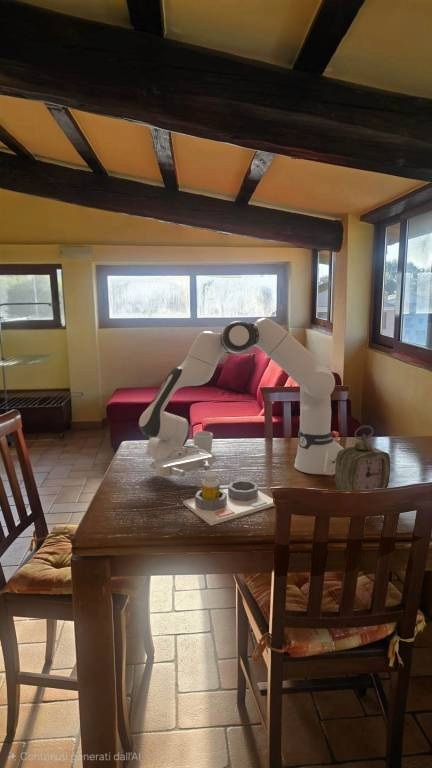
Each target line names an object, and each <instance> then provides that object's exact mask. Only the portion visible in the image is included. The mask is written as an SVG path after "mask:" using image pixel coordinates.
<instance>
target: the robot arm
mask: <svg viewBox="0 0 432 768" xmlns="http://www.w3.org/2000/svg"><path fill="white" fill-rule="evenodd" d="M251 347H256V348H258V349H259V350H261V352H262V353H264V355H266V356H267V357H268V358H269V359H270V360H272V361H273V362H274V363H275V364H276V365H277V366H278V367H279V368H281V370H282V371H284V372H285V373H286V374H287V375H288V376H289V377H290V378H291V379H292V380H293V381H294V383H296V384H297V385H298V386H299V389H300V390H299V393H300V394H299V396H300V397H299V400H300V401H299V402H300V404H299V405H300V408H299V409H300V415H299V416H300V417H299V418H300V419H299V429H298V435H297V436H298V437H297V439H298V444H297V452H296V456H295V459H294V461H295V462H294V464H293V467H294V468H295V469H296V470H297V471H299V472H302V473H306V474H312V475H325V476H334V475H335V466H336V458H337V454H338V452H339V451H340V450H342V449H345V448H344V447H343V446H341V445H340V444H338V443H337V442H336V441H335V440H334V437H335V438H338V437H339V432H338V431H335V430H333V431H331V423H332V421H331V420H332V406H331V405H332V404H331V403H332V402H331V394H332V393H333V392H334V390H335V386H336V379H335V376H334V374H333V372H332V371H331V370H330V369H329V368H328V367H327V366H326V365H325V364H323V363H322V362H321V361H320V360H319V359H318V358H316V357H315V356H314V355H313V354H312V353H311V352H310V351H309V350H308V349H307V348H306V347H305V346H303V344H301V343H300V342H299V341H298V339H296V338H295V337H294V336H293V335H292V334H290V333H289V332H288V331H287V330H286V329H284V328H283V327H282V326H281V325H279V324H278V323H277V322H275V321H274V320H272V319H270V318H268V317H261V318H259V319H257V320H256V321H254V323H251V322H246V321H243V320H235V321H231V322H230V323H228V324H227V325H226V326H225V327H224V328H223V329H222V330H221V332H219V333H217V332H214V331H210V330H204V331H201V332H200V333H199V334H198V336H197V337H196V338H195V340H194V341H193V344H192V345H191V347H190V348H189V352H187V356H186V357H185V359H184V360H183V362H182V363H181V364H180V365H179V366H177V367H174V368H172V369H171V371H170V372H168V374H167V376H166V377H165V379H164V381H163V382H162V384H161V386H160V387H159V389H158V390H157V392H156V393H155V395H154V397H153V398H152V399H151V402H150V403H149V405H148V406H147V407H146V408H145V409H144V410H143V411H142V413H141V415H140V417H139V420H138V427H139V429H140V432H141V433H142V435H144V436H145V437H148V438H149V437H153V438H151V439H150V440H149V439H148V442H147V446H146V447H147V448H146V449H147V450H146V451H147V453H148V455H149V456H150V457H151V458H152V459H153V460H154V461H153V462H151V463H149V468H150V469H152V470H154V473H155V474H156V475H157V476H158V477H160V478H165V477H166V478H167V477H170V476H177V477H180V478H181V477H182V478H183V477H185V476H186V473H187V472H192V471H196V470H200V469H203V471H206V472H209V471H211V467H213V466H214V455H213V454H212V453H211V452H210V453H209V452H207V451H205V450H202V449H199V447H198V446H194V445H186V444H187V442H188V439H189V437H190V433H191V430H190V429H191V428H190V424H189V422H188V419H186V418H185V417H182V416H179V415H177V414H173V413H169V412H167V411H164V410H165V408H166V407H167V406H168V404H169V402H170V401H171V399H172V397H173V395H174V394H175V392H177V391H178V390H179V389H180V388H184V387H196V386H202V385H204V384H206V383H208V382H209V381H210V380H211V378H212V377H213V376H214V373H215V371H216V369H217V366H218V364H219V361H220V359H221V357H222V356H223V355H224V354H229V355H230V354H232V355H237V354H238V355H239V354H242V353H244V352H246V351H248V349H250V348H251Z"/></svg>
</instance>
